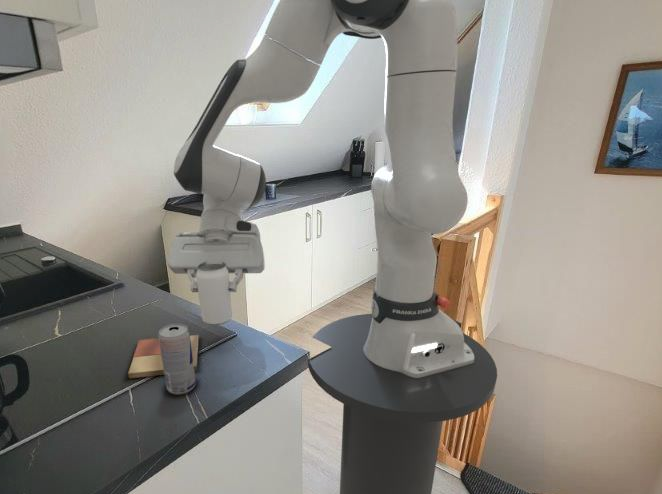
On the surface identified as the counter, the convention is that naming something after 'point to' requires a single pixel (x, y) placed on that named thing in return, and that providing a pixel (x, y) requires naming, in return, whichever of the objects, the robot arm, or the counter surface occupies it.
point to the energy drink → (177, 358)
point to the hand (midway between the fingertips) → (213, 291)
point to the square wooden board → (155, 358)
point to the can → (214, 293)
